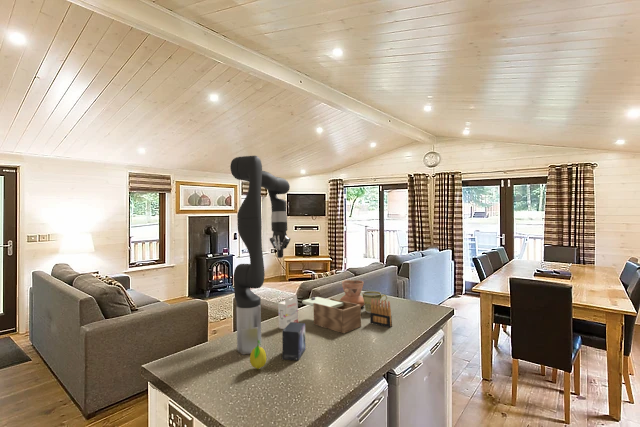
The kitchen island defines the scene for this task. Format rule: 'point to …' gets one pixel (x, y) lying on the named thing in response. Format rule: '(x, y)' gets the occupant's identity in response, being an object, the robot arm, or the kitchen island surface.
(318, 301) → the lid
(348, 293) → the ceramic jug
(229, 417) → the kitchen island surface
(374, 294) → the ceramic cup
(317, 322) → the wooden box
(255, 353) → the lemon
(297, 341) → the small box
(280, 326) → the ink cartridge box
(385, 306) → the ammunition clip
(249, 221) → the robot arm
